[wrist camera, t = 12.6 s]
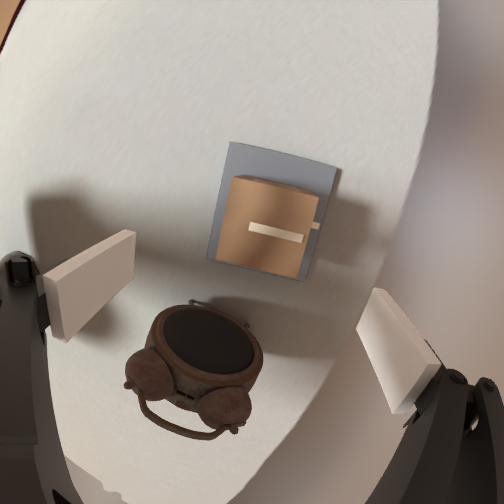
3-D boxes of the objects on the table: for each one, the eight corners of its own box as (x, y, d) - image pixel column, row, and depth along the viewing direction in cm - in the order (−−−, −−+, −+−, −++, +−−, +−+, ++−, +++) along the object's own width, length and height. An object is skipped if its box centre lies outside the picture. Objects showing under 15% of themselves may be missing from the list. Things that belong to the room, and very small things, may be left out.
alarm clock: (270, 319, 38) (266, 436, 19) (251, 354, 41) (237, 465, 22) (175, 280, 38) (105, 373, 19) (163, 318, 40) (104, 414, 21)
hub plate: (208, 256, 36) (196, 273, 30) (231, 142, 31) (222, 137, 26) (303, 278, 36) (308, 299, 30) (334, 167, 31) (347, 168, 26)
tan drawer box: (229, 238, 34) (215, 259, 26) (243, 174, 32) (231, 177, 24) (292, 253, 34) (296, 279, 26) (309, 190, 31) (319, 198, 24)
